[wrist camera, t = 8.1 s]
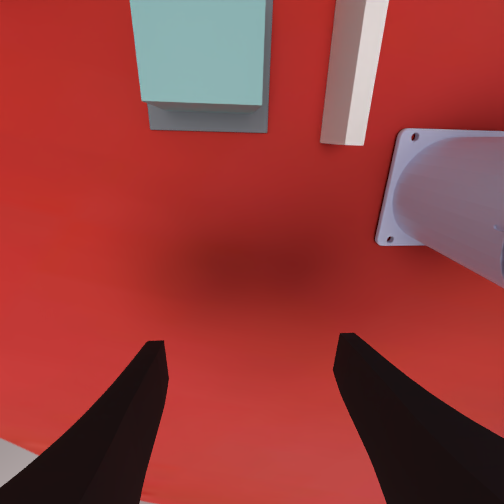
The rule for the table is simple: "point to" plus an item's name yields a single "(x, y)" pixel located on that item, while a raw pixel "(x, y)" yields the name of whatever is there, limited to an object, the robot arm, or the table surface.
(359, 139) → the light grey piece
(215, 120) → the mat
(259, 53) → the teal block
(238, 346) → the table surface
